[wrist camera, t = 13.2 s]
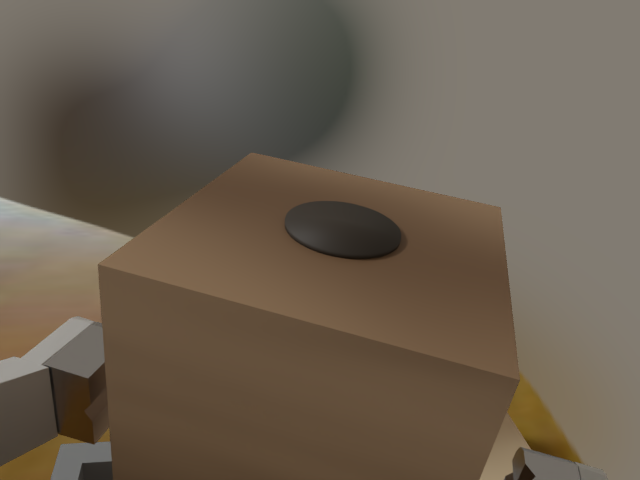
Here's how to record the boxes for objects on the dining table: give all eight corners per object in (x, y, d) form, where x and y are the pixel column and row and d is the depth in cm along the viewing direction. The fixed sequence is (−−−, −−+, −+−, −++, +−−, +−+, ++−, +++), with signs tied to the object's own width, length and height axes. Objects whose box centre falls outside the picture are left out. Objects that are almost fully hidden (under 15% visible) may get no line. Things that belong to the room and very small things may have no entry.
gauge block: (533, 548, 20) (561, 494, 18) (357, 568, 18) (372, 510, 17) (466, 423, 25) (483, 374, 23) (324, 431, 23) (334, 378, 22)
